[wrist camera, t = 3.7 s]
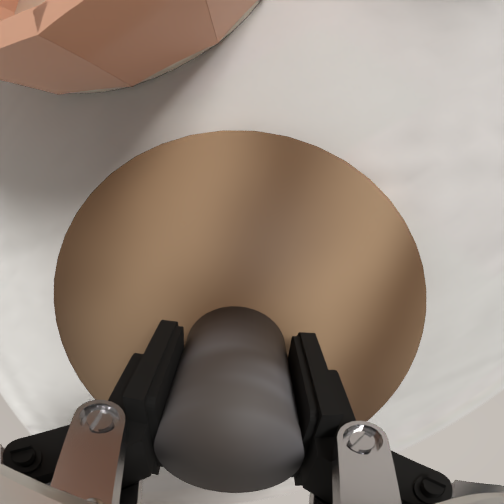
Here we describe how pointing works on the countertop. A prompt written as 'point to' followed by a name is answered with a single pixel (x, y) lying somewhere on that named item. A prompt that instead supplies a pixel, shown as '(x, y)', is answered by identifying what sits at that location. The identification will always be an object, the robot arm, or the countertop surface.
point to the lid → (240, 293)
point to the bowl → (108, 40)
